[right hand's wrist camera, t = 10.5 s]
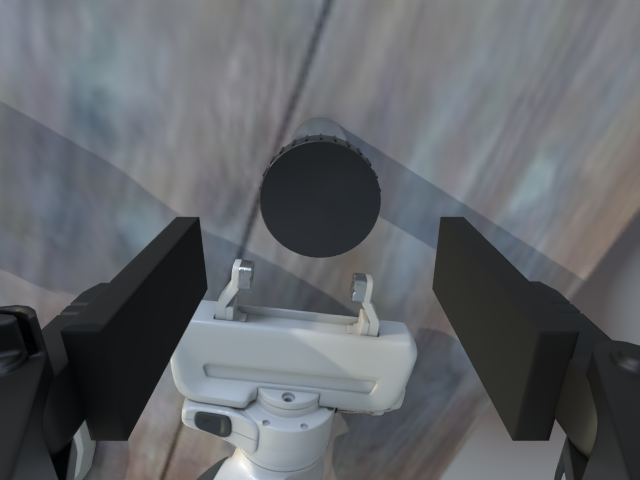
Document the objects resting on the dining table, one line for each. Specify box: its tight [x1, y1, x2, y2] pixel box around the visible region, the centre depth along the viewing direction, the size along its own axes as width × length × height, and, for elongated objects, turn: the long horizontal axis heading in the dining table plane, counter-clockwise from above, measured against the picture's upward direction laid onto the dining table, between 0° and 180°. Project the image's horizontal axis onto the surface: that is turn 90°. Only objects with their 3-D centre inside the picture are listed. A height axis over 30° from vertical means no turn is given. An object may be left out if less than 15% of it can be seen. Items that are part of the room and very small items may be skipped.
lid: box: [259, 133, 381, 258], centre depth 21 cm, size 6×6×2 cm
